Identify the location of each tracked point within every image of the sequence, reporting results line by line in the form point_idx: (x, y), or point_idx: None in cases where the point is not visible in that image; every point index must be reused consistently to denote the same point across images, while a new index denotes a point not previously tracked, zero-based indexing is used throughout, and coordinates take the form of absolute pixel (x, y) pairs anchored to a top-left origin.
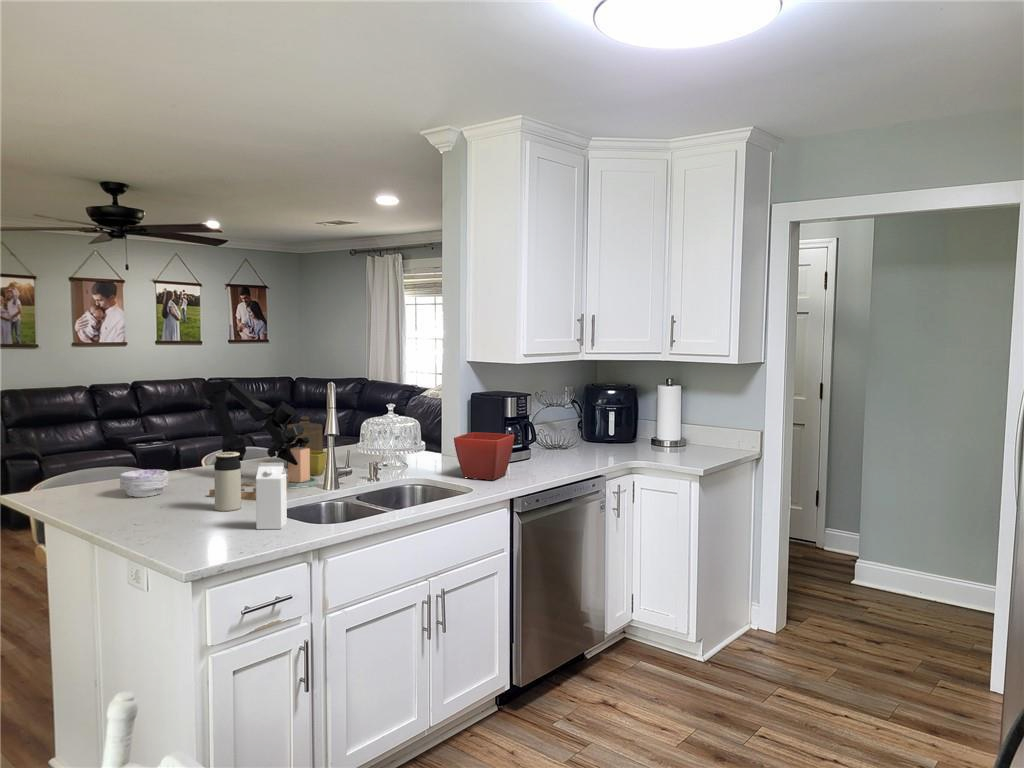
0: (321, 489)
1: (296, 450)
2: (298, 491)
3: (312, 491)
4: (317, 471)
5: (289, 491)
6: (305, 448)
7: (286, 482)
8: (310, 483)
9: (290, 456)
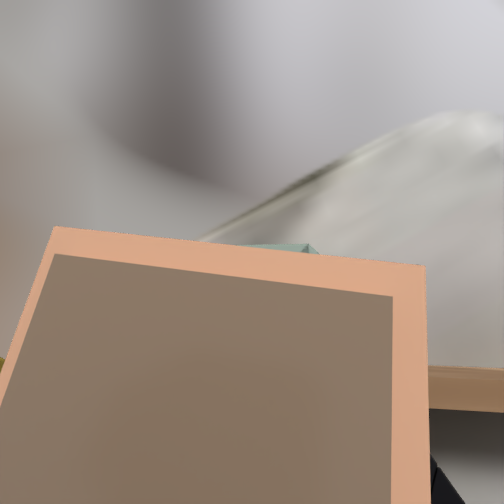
0: (343, 174)
1: (424, 413)
2: (441, 257)
3: (406, 189)
4: (2, 363)
5: (467, 307)
6: (145, 265)
7: (434, 371)
8: (310, 248)
9: (447, 499)
